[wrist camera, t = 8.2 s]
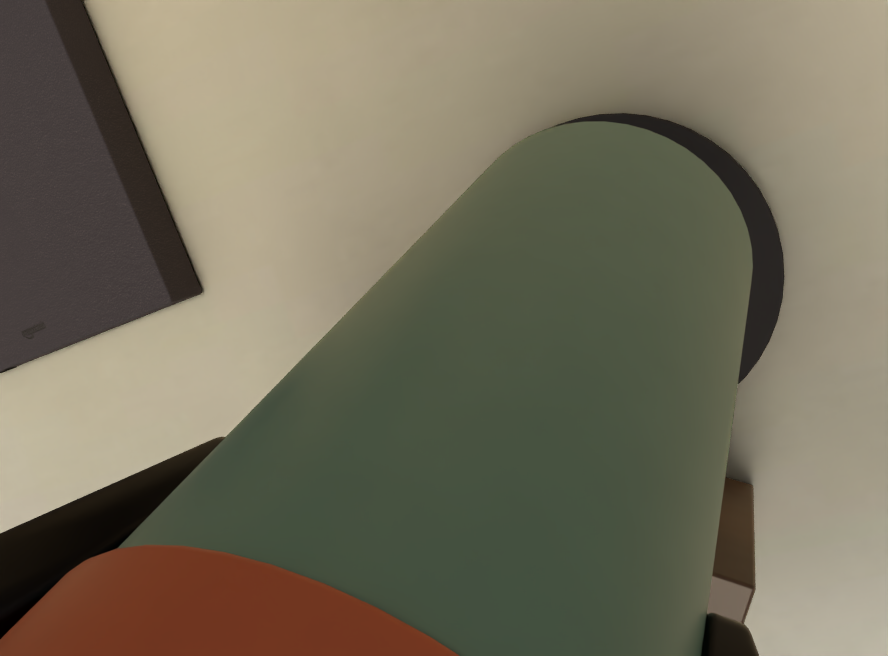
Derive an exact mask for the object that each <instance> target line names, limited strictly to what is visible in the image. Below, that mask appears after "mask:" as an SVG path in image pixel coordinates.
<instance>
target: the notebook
mask: <svg viewBox="0 0 888 656" xmlns="http://www.w3.org/2000/svg"><path fill="white" fill-rule="evenodd" d="M201 293H202V291H201V288H200V286H199V284H198V281H197V279H196V276H195V274H194V272H193V269H192V267H191V264H190V262H189V259H188V257H187V255H186V252H185V250H184V247H183V245H182V243H181V240H180V238H179V235H178V233H177V231H176V228H175V226H174V223H173V221H172V219H171V216H170V214H169V211H168V209H167V207H166V204H165V202H164V199H163V197H162V194H161V192H160V190H159V187H158V185H157V182H156V180H155V178H154V175H153V173H152V170H151V168H150V166H149V163H148V161H147V158H146V156H145V154H144V151H143V149H142V146H141V144H140V142H139V139H138V137H137V134H136V132H135V129H134V127H133V125H132V122H131V120H130V117H129V115H128V113H127V110H126V108H125V105H124V103H123V101H122V98H121V96H120V93H119V91H118V89H117V86H116V84H115V81H114V79H113V77H112V74H111V72H110V69H109V67H108V65H107V62H106V60H105V57H104V55H103V52H102V50H101V48H100V45H99V43H98V40H97V38H96V36H95V33H94V31H93V28H92V26H91V24H90V21H89V19H88V16H87V14H86V12H85V9H84V7H83V4H82V2H81V0H0V373H2V372H5V371H8V370H10V369H13V368H16V367H17V366H19V365H21V364H24V363H26V362H29V361H31V360H34V359H37V358H39V357H42V356H44V355H47V354H49V353H52V352H54V351H57V350H59V349H62V348H64V347H67V346H70V345H72V344H75V343H77V342H80V341H82V340H85V339H87V338H90V337H92V336H95V335H97V334H100V333H103V332H105V331H108V330H110V329H113V328H115V327H118V326H120V325H123V324H125V323H128V322H130V321H133V320H136V319H138V318H141V317H143V316H146V315H148V314H151V313H153V312H156V311H158V310H161V309H163V308H166V307H168V306H171V305H174V304H176V303H179V302H181V301H184V300H186V299H189V298H191V297H194V296H196V295H199V294H201Z"/></svg>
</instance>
